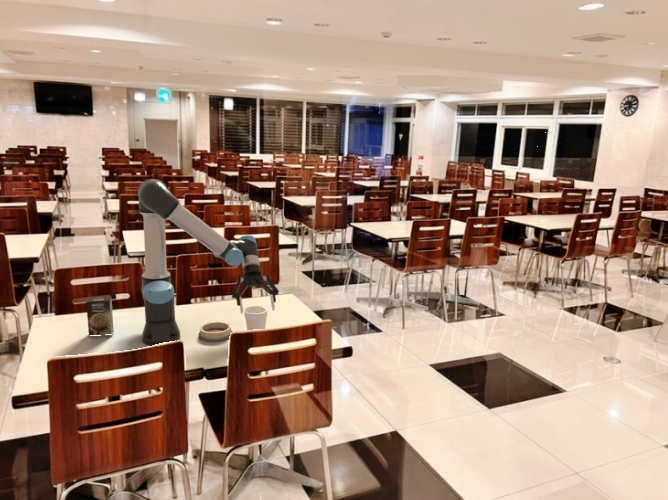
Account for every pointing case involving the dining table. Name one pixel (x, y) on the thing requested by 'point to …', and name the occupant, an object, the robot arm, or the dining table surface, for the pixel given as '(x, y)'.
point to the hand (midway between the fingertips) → (257, 310)
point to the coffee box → (100, 316)
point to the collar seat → (215, 331)
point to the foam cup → (255, 317)
